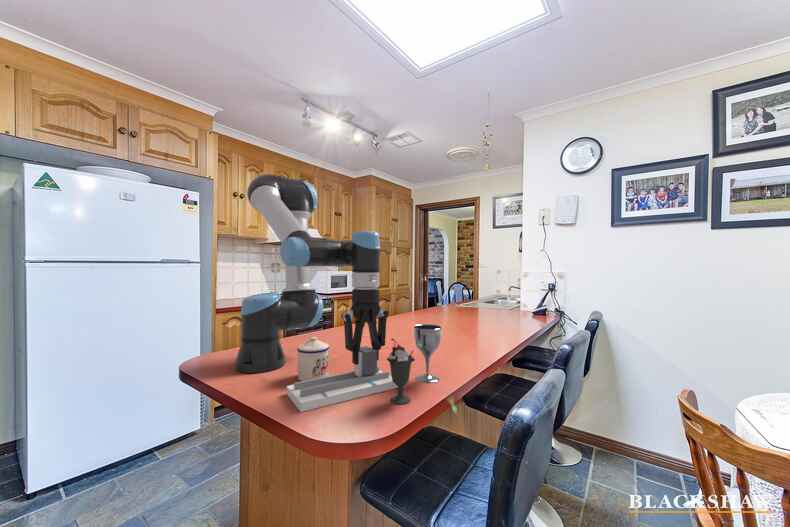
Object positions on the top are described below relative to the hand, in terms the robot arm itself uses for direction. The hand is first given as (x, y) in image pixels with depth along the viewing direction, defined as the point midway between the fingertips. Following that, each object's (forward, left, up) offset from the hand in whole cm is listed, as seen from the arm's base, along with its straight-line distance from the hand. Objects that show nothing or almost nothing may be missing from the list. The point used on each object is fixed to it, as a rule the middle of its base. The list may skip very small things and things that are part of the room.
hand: (365, 374), depth 86 cm
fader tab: (0, 0, -1) cm, 1 cm away
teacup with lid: (-15, -8, -3) cm, 18 cm away
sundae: (+13, +3, -3) cm, 14 cm away
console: (0, -6, -3) cm, 7 cm away
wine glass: (+5, +18, -3) cm, 18 cm away
